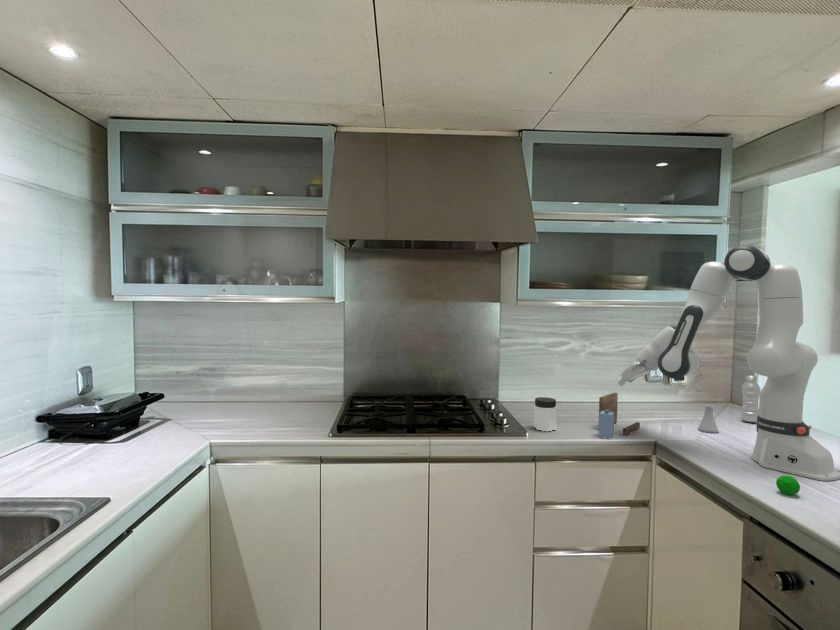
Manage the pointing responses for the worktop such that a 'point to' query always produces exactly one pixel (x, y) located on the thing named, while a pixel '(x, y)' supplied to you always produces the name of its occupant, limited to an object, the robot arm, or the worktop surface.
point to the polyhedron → (788, 485)
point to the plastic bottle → (750, 399)
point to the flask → (708, 421)
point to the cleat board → (615, 410)
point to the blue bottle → (606, 424)
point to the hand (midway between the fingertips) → (624, 383)
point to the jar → (545, 414)
